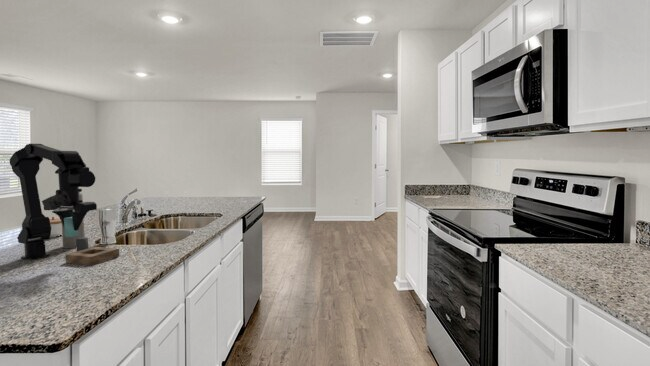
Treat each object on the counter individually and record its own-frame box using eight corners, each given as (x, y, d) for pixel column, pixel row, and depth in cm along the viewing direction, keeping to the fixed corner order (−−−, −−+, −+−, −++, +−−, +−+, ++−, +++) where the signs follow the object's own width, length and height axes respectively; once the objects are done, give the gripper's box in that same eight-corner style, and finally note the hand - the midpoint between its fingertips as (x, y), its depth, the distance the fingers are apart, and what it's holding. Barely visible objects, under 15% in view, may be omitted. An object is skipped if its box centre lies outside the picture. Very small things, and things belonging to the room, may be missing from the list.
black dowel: (74, 254, 149) (73, 239, 149) (83, 251, 153) (82, 237, 152) (82, 255, 148) (81, 239, 148) (91, 252, 152) (90, 237, 151)
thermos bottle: (79, 242, 169) (76, 180, 167) (88, 245, 164) (85, 180, 162) (59, 246, 162) (55, 181, 160) (68, 248, 158) (64, 181, 156)
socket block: (66, 262, 137) (65, 254, 137) (94, 254, 149) (94, 246, 149) (92, 265, 134) (91, 256, 134) (119, 256, 145) (119, 248, 145)
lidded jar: (34, 238, 179) (33, 218, 179) (54, 233, 190) (53, 214, 189) (54, 238, 177) (53, 219, 177) (73, 234, 188) (71, 215, 187)
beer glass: (103, 245, 163) (101, 211, 162) (96, 243, 167) (94, 209, 166) (120, 242, 169) (118, 209, 168) (112, 240, 173) (111, 207, 172)
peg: (62, 236, 134) (61, 218, 134) (72, 234, 138) (71, 216, 138) (70, 237, 133) (69, 218, 132) (81, 235, 137) (80, 217, 136)
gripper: (26, 188, 130) (29, 233, 131) (66, 188, 124) (69, 236, 125) (58, 185, 140) (60, 227, 141) (96, 186, 134) (99, 229, 135)
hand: (71, 230), depth 135 cm, fingers closed on peg, 4 cm apart
